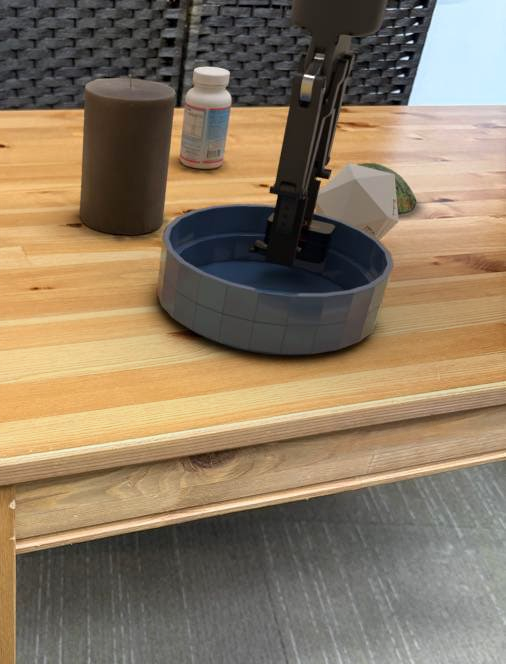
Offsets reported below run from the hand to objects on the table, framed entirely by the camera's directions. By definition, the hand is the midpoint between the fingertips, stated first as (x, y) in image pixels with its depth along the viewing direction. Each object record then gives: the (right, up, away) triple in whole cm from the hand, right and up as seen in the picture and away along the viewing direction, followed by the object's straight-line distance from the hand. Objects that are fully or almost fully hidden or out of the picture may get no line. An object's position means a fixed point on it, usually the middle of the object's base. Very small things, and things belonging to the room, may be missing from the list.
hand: (285, 253), depth 81 cm
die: (+9, +5, +11) cm, 15 cm away
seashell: (+16, +15, +23) cm, 32 cm away
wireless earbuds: (0, 0, 0) cm, 1 cm away
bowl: (-2, -6, -2) cm, 6 cm away
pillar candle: (-16, +8, +13) cm, 23 cm away
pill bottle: (-5, +23, +30) cm, 38 cm away
